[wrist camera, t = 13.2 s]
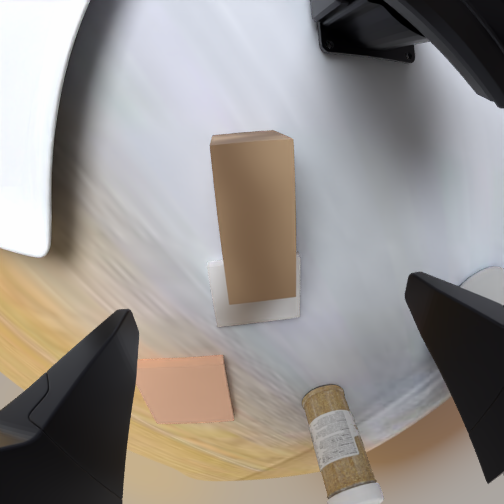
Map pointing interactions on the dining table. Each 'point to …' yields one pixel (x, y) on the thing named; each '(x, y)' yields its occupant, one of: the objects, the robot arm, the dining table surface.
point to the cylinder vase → (487, 284)
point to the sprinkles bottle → (339, 448)
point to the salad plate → (31, 114)
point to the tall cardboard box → (255, 229)
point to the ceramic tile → (185, 389)
